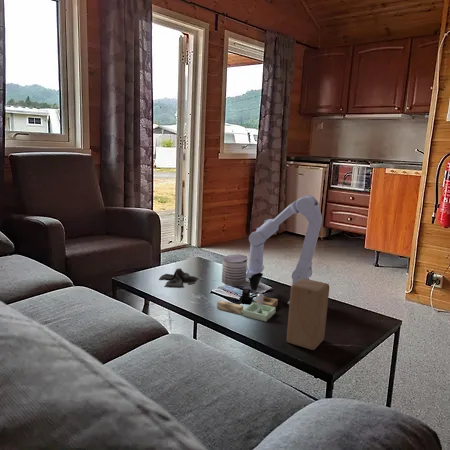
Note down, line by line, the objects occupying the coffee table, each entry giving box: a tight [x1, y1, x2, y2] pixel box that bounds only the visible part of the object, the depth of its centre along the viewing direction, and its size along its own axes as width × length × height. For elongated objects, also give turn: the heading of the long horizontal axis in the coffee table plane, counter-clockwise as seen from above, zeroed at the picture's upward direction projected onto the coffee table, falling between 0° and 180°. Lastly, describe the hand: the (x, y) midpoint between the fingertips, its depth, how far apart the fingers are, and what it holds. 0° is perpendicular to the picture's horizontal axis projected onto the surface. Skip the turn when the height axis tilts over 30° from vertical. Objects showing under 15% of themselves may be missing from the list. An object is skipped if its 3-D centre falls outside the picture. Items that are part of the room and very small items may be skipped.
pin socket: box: [254, 295, 279, 308], centre depth 167 cm, size 7×7×2 cm
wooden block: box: [286, 278, 330, 351], centre depth 136 cm, size 10×10×20 cm
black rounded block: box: [237, 288, 254, 306], centre depth 172 cm, size 12×7×5 cm, turn 171°
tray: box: [242, 301, 277, 322], centre depth 158 cm, size 9×9×2 cm
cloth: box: [158, 268, 199, 289], centre depth 192 cm, size 22×19×6 cm
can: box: [221, 253, 249, 287], centre depth 192 cm, size 11×11×12 cm
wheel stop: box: [216, 299, 244, 315], centre depth 160 cm, size 10×2×3 cm, turn 63°
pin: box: [256, 292, 265, 314], centre depth 157 cm, size 2×2×8 cm
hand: (254, 289), depth 179 cm, fingers closed
